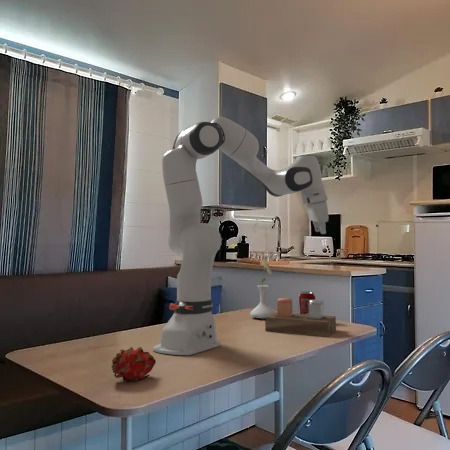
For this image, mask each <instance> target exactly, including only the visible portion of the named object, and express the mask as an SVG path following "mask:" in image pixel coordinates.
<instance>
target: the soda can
mask: <svg viewBox="0 0 450 450" xmlns="http://www.w3.org/2000/svg"><path fill="white" fill-rule="evenodd" d="M297 300H298V314H306V315H309V300H316V296H315V294H314V291H307V290H306V291H305V290H304V291H299V295H298V299H297Z"/></svg>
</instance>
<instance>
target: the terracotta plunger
mask: <svg viewBox="0 0 450 450" xmlns="http://www.w3.org/2000/svg"><path fill="white" fill-rule="evenodd" d="M276 307H277V309H276V311H277V312H276V313H277V317H288V318H290V317H292V316H293V314H294V313H293V299H292V298H290V297H281V298H277V302H276Z"/></svg>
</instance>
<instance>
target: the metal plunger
mask: <svg viewBox="0 0 450 450" xmlns="http://www.w3.org/2000/svg"><path fill="white" fill-rule="evenodd" d="M324 316H325V304H324V300H323V299H315V300H309V319H316V320H323V319H324Z"/></svg>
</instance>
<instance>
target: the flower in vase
mask: <svg viewBox="0 0 450 450" xmlns="http://www.w3.org/2000/svg"><path fill="white" fill-rule="evenodd" d="M261 260H262V261H261V263H262V265H263V267H264V269H263V271H262V274H261V276H260V278H261V280H260V283H261V284H260V285H258V284H257V285H256V286H257V288H258V291H259V297H260V298H259V300H260V301H259V303H258V305H256V306H255V307H254V308H253V309H252V310H251V311H250V312H249V313H250V314H249V315H250V317H252V318H256V319H261V320H263V319H264V320H265V317H267V316H270V315H272V314H275V313H277V312H276V311H275V310H274V309H273V308H272V307H271V306H270V305H269V304H268V303H267V301H266V299H267V297H266V295H267V291H268V288H269V285H267V284H266V285H265V284H263V283H265V282H266V281H267V278H265V277H263V275H264V272H265V271H266V272H267V273H268V274H269V275H270V276H273V275H274V274H273V270H272V269H271V267H270V264H268V263H267V261H266V260H264V259H261Z"/></svg>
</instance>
